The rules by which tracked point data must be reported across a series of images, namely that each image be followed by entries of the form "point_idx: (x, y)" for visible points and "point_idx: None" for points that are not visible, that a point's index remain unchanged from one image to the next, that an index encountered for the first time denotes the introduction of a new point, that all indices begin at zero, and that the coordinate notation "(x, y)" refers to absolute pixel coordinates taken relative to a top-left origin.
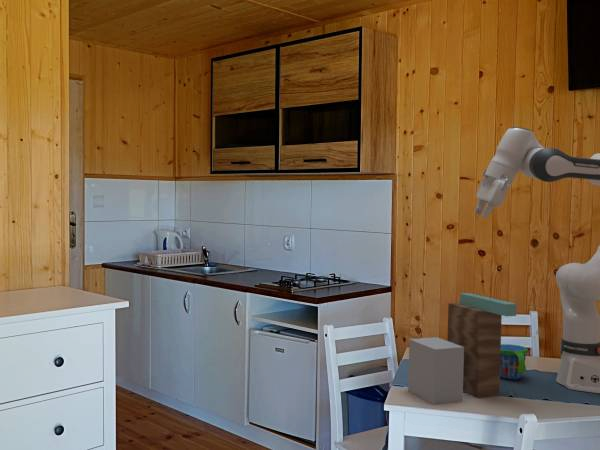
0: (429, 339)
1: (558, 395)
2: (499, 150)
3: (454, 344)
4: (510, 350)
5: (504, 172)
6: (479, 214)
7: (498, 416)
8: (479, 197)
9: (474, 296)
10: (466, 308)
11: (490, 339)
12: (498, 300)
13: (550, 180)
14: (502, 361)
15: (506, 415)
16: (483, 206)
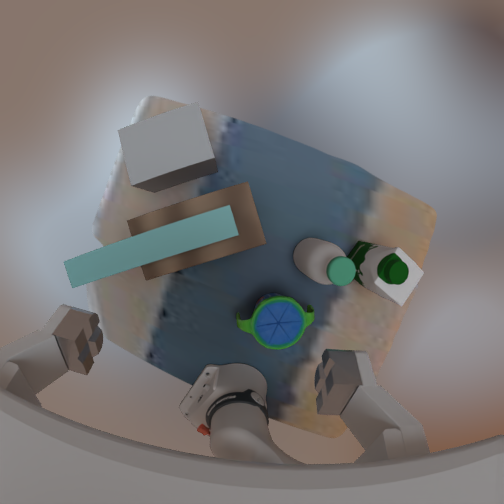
0: (194, 137)
1: (180, 338)
2: None
3: (151, 173)
4: (272, 320)
5: None
6: (317, 372)
7: (97, 220)
8: (380, 473)
9: (173, 226)
10: (174, 204)
11: None
12: (112, 265)
13: None
14: (263, 299)
15: (100, 231)
16: (363, 445)
